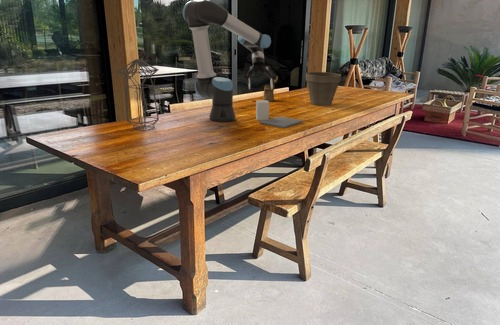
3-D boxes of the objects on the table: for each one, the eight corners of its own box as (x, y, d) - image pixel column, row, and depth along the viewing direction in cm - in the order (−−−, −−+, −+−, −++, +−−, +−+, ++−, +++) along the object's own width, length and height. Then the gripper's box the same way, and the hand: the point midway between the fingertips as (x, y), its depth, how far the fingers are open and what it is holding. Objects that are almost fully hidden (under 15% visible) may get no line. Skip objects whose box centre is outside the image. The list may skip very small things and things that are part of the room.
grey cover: (268, 120, 228) (269, 102, 224) (257, 120, 227) (257, 102, 224) (266, 117, 234) (267, 100, 230) (255, 117, 233) (256, 100, 230)
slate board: (283, 128, 210) (283, 126, 210) (259, 123, 219) (259, 121, 219) (302, 122, 225) (303, 120, 225) (280, 118, 234) (280, 116, 234)
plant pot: (341, 107, 271) (344, 76, 264) (306, 106, 271) (308, 75, 265) (334, 101, 295) (337, 72, 288) (302, 100, 295) (304, 71, 288)
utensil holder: (280, 99, 297) (281, 75, 291) (269, 101, 287) (270, 77, 281) (271, 98, 302) (272, 74, 296) (260, 100, 293) (260, 75, 287)
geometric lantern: (143, 133, 192) (136, 60, 181) (121, 130, 200) (113, 59, 189) (165, 127, 205) (160, 58, 194) (144, 124, 213) (137, 57, 202)
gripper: (277, 64, 249) (280, 92, 239) (237, 64, 246) (239, 91, 237) (278, 56, 242) (282, 84, 233) (238, 56, 239) (240, 84, 230)
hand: (260, 88), depth 235 cm, fingers open, 13 cm apart
